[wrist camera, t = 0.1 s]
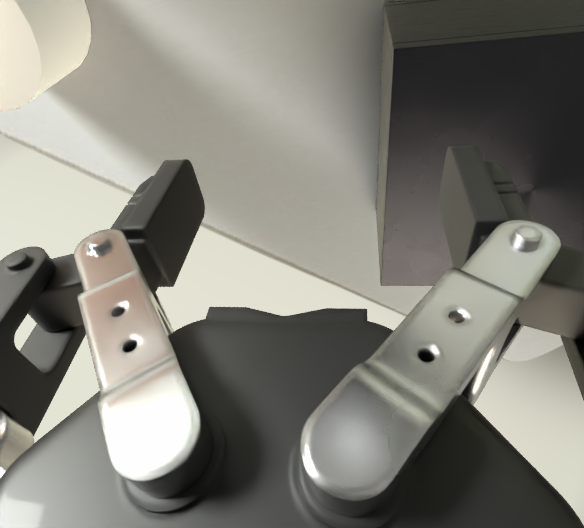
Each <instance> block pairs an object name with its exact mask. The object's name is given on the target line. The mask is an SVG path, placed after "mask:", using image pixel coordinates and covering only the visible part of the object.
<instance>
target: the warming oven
mask: <svg viewBox="0 0 584 528" xmlns="http://www.w3.org/2000/svg"><path fill="white" fill-rule="evenodd" d="M464 145H476V146H477V147H478V149H479V151H480V154H481V156H482V158H483V161H484V162H490V161H495V162H496V163H498V164H499V165H500V166H502V167H503V168H504V169H506V170H507V171H508V173H509V175H510V177H511V179H512V181H513V184H514V185H515V187H516V189H517V191H518V192H517V193H519V195H520V197H521V199H522V201H523V203H524V205H525V207H526V209H527V211H528V213H529V215H530V217H531V219H532V221H533V222H536V223H539V224H541V225H544V226H546V227H548V228H549V229H551V230H552V231H553V232H554V233H555V234H556V235H557V236H558V237H559V239H560V243H561V245H562V246H566V247H569V248H574V249H579V250H584V0H407V1H398V2H389V3H384V14H383V41H382V69H381V96H380V124H379V152H378V179H377V207H376V215H377V232H378V248H379V265H380V282H381V286H434V285H435V284H436V283H437V282H438V280H439V279H440V278H441V277H442V276H443V275H444V274H445V273H446V271H447V270H448V269H450V268H451V267H453V263H452V259H451V255H450V251H449V247H448V242H447V238H446V234H445V230H444V226H443V222H442V218H441V214H440V209H439V193H440V187H441V181H442V175H443V169H444V163H445V157H446V152H447V149H448V147H449V146H464Z"/></svg>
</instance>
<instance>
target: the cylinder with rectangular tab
mask: <svg viewBox="0 0 584 528" xmlns="http://www.w3.org/2000/svg"><path fill="white" fill-rule="evenodd" d="M90 42H91V24H90V17H89V14H88V10H87V6H86V3H85V0H0V111H8V110H13V109H18V108H21V107H22V106H24V105H25V104H27V103H28V102H30V101H31V100H33V99H34V98H36V97H37V96H38V95H40V94H41V93H43V92H44V91H45V90H47V89H48V88H50V87H51V86H52V85H54V84H55V83H57V82H58V81H59V80H61V79H62V78H64V77H65V76H66V75H68V74H69V73H71V72H72V71H73V70H75V69H76V68H78V67H79V66H80V65H81V63H82V62H83V60H84V59H85V57H86V56H87V54H88V50H89V46H90Z"/></svg>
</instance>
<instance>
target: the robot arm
mask: <svg viewBox="0 0 584 528" xmlns="http://www.w3.org/2000/svg"><path fill="white" fill-rule="evenodd" d="M517 192H518V191H517V189H516V187H515V185H514V184H513V181H512V179H511V177H510V175H509V173H508V171H507V170H506V169H504V168H503V167H502V166H500V165H499V164H498V163H496V162H495V161H490V162H484V161H483V158H482V156H481V154H480V151H479V149H478V147H477V146H476V145H464V146H449V147H448V149H447V152H446V157H445V163H444V169H443V175H442V181H441V187H440V193H439V209H440V214H441V218H442V222H443V226H444V230H445V234H446V238H447V242H448V247H449V251H450V255H451V259H452V263H453V267H451V268H450V269H448V270H447V271H446V273H445V274H444V275H443V276H442V277H441V278H440V279H439V280H438V282H437V283H436V284H435V285H434V286H433V287H432V288H431V290H430V291H429V292H428V293H427V294H426V295H425V296H424V297H423V299H422V300H421V301H420V302H419V303H418V304H417V305H416V306H415V308H414V309H413V310H412V311H411V312H410V313H409V314H408V316H407V317H406V318H405V319H404V320H403V321H402V322H401V323H400V325H399V326H398V327H397V328H396V329H395V330H394V331H393V330H391V329H389V328H387V327H385V326H382V325H379V324H376V323H373V322H369V321H367V309H330V308H329V309H328V308H327V309H321V310H316V311H311V312H306V313H301V314H296V315H290V316H279V315H275V314H271V313H267V312H263V311H259V310H255V309H250V308H246V307H245V308H244V307H243V308H242V307H210V308H209V310H208V313H207V316H206V319H204V320H200V321H196V322H193V323H191V324H188V325H186V326H184V327H182V328H180V329H178V330H176V331H175V332H174V331H173V328H172V326H171V324H170V322H169V320H168V318H167V315H166V313H165V311H164V309H163V307H162V304H161V302H160V300H159V298H158V296H157V294H156V290H157V288H158V287H162V286H163V287H165V286H166V287H173V286H174V284H175V282H176V279H177V277H178V275H179V272H180V270H181V268H182V266H183V263H184V261H185V259H186V256H187V254H188V252H189V249H190V247H191V245H192V243H193V240H194V238H195V235H196V233H197V231H198V229H199V226H200V224H201V222H202V219H203V217H204V212H205V205H204V199H203V196H202V193H201V190H200V187H199V184H198V181H197V178H196V175H195V172H194V169H193V166H192V164H191V162H190V161H189V160H187V159H185V160H166V161H164V162H163V163H162V165H161V166H160V168H159V169H158V171H157V173H156V174H155V176H151V177H150V178H149V179H147V180H146V181H145V182H143V183H142V184H141V185H140V186H139V187H138V189H137V190H136V192H135V193H134V195H133V197H132V198H131V199H130V201H129V202H128V205H126V207H125V208H124V209H123V211H122V212H121V214H120V215H119V217H118V218H117V220H116V221H115V223H114V224H113V226H112V227H111V228H110V229H107V230H102V231H98V232H96V233H93V234H91V235H89V236H88V237H86V238H85V239H83V240H82V241H81V242H80V243H79V244H78V246H77V247H76V249H75V251H74V254H70V255H66V256H62V257H58V258H54V259H50V258H49V256H48V255H47V253H46V252H45V251H44V249H42V248H40V247H27V248H23V249H20V250H17V251H15V252H13V253H11V254H9V255H8V256H6V257H5V258H3V259H2V260H1V261H0V528H584V526H583V524H582V522H581V521H580V519H579V517H578V516H577V515H576V513H575V512H574V510H573V509H572V508H571V506H570V505H569V504H568V503H567V501H566V500H565V499H564V498H563V497H562V496H561V495H560V494H559V492H558V491H557V490H556V489H555V488H554V487H553V486H552V485H551V484H550V483H549V482H548V481H547V480H546V479H545V478H544V477H543V476H542V475H541V474H540V473H539V472H538V471H537V470H536V469H535V468H534V467H533V466H532V465H531V464H530V463H529V462H528V461H527V460H526V459H525V458H524V457H523V456H522V455H521V454H520V453H519V452H518V451H517V450H516V449H515V448H514V447H513V446H512V445H511V444H510V443H509V442H508V441H507V440H506V439H505V438H504V437H503V436H502V435H501V433H500V432H499V431H498V430H497V429H496V428H495V427H493V425H492V424H491V423H490V422H489V421H488V420H486V418H485V417H484V416H483V415H482V414H481V413H480V412H479V411H478V410H477V409H476V408H475V407H474V406H473V405H474V403H475V402H476V400H477V399H478V397H479V395H480V394H481V392H482V390H483V388H484V387H485V385H486V383H487V381H488V379H489V377H490V376H491V374H492V372H493V371H494V369H495V368H496V366H497V364H498V363H499V362H500V360H501V359H502V357H503V356H504V354H505V352H506V351H507V349H508V348H509V346H510V345H511V343H512V342H513V340H514V339H515V337H516V336H517V334H518V333H519V331H520V330H521V328H522V327H523V325H524V326H528V327H531V328H535V329H539V330H543V331H546V332H550V333H554V334H558V335H560V336H561V338H562V341H563V344H564V347H565V350H566V352H567V355H568V358H569V361H570V364H571V366H572V369H573V372H574V375H575V377H576V380H577V383H578V386H579V388H580V391H581V394H582V397H583V400H584V250H579V249H574V248H569V247H566V246H562V245H561V243H560V239H559V237H558V236H557V235H556V234H555V233H554V232H553V231H552V230H551V229H549V228H548V227H546V226H544V225H541V224H539V223H536V222H533V221H532V219H531V217H530V215H529V213H528V211H527V209H526V207H525V205H524V203H523V201H522V199H521V197H520V195H519V193H517ZM27 314H29V315H30V316H31V317H32V318H33V319H34V320H35V322H36V323H37V325H36V326H35V328H34V329H33V331H32V332H31V334H30V336H29V337H28V339H27V340H26V342H25V344H24V345H23V347H22V348H21V350H20V351H18V350H17V349H16V347H15V344H14V335H15V332H16V330H17V329H18V327H19V326H20V324H21V322H22V321H23V320H24V318H25V316H26V315H27ZM85 335H87V339H88V343H89V347H90V351H91V355H92V359H93V363H94V368H95V372H96V376H97V380H98V384H99V388H100V391H99V392H98V393H96V394H95V395H94V396H93V397H91V398H90V399H89V400H88V401H86V402H85V403H84V404H83V405H81V406H80V407H79V408H78V409H76V410H75V411H74V412H73V413H71V414H70V415H69V416H68V417H66V418H65V419H64V420H63V421H62V422H60V423H59V424H58V425H57V426H55V427H54V428H53V429H52V430H50V431H49V432H48V433H47V434H45V435H44V436H43V437H42V438H40V439H39V440H38V441H37V442H36V443H34V438H33V436H34V434H35V432H36V431H37V428H38V427H39V425H40V423H41V421H42V419H43V417H44V415H45V413H46V411H47V409H48V407H49V405H50V403H51V401H52V399H53V397H54V395H55V393H56V391H57V389H58V387H59V385H60V384H61V382H62V380H63V378H64V376H65V374H66V372H67V370H68V368H69V366H70V364H71V362H72V360H73V358H74V356H75V354H76V352H77V350H78V348H79V346H80V344H81V342H82V340H83V338H84V337H85Z"/></svg>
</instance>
